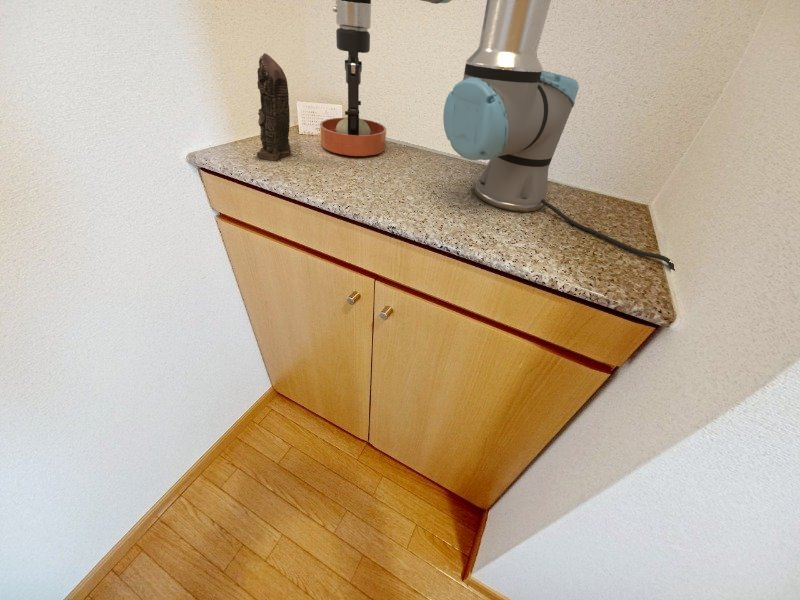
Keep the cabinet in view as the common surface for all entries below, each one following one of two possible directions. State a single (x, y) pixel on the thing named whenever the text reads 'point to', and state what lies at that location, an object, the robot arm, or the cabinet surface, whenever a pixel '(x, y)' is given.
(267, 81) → the statue
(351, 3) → the robot arm
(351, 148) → the bowl
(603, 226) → the cabinet surface
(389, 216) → the cabinet surface
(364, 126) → the sea urchin shell
